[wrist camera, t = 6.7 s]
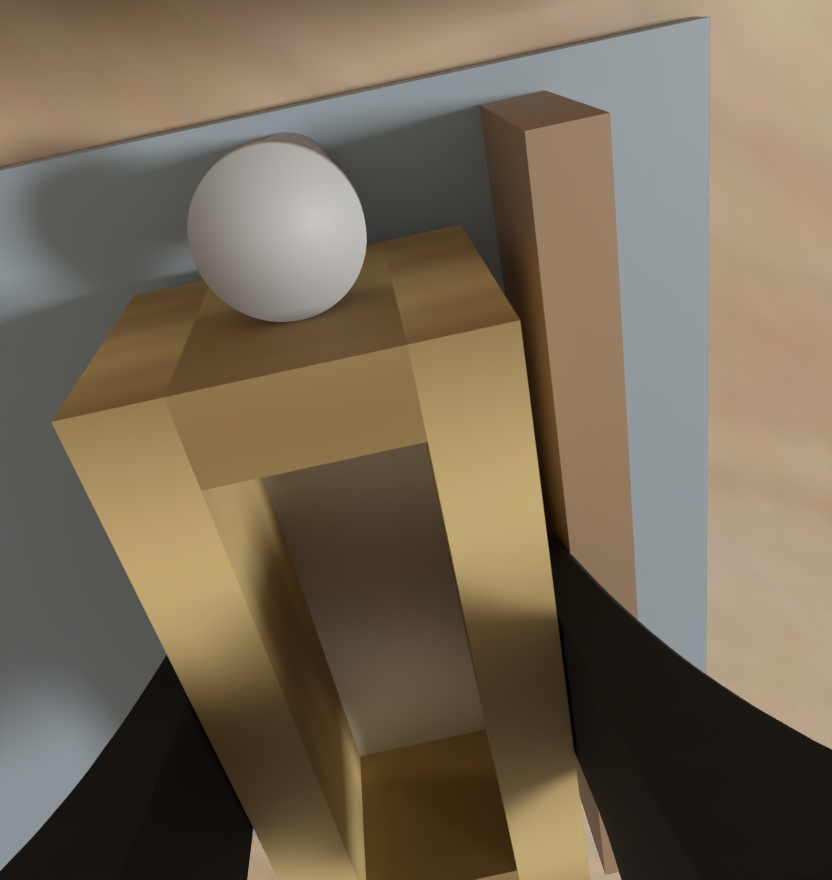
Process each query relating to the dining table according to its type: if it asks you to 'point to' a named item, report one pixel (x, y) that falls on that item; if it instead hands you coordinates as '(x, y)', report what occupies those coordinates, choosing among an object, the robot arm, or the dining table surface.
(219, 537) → the frame
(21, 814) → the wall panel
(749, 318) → the dining table surface
